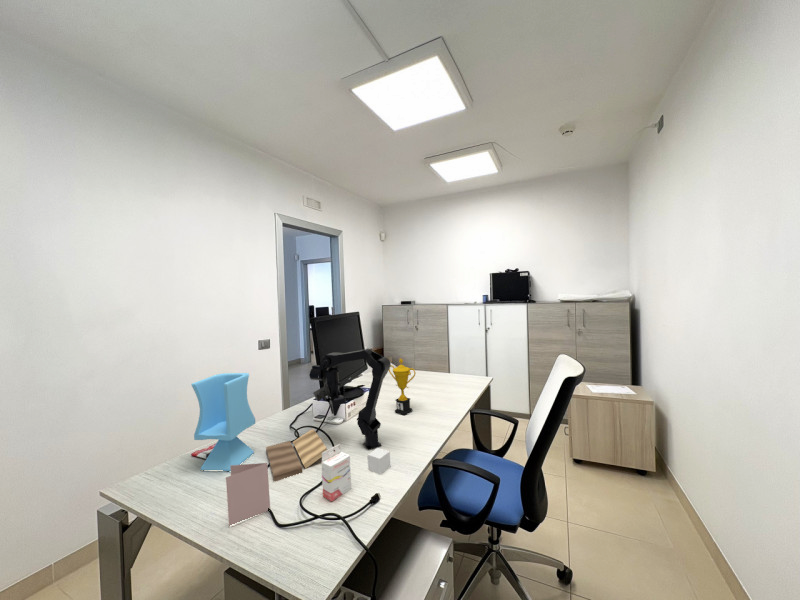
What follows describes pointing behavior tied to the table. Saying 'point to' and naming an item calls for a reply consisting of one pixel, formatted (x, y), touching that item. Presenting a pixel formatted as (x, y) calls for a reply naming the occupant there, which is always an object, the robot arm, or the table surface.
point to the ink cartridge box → (335, 473)
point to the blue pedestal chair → (224, 418)
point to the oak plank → (309, 447)
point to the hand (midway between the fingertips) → (334, 414)
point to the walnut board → (283, 460)
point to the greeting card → (247, 491)
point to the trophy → (402, 387)
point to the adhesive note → (379, 460)
